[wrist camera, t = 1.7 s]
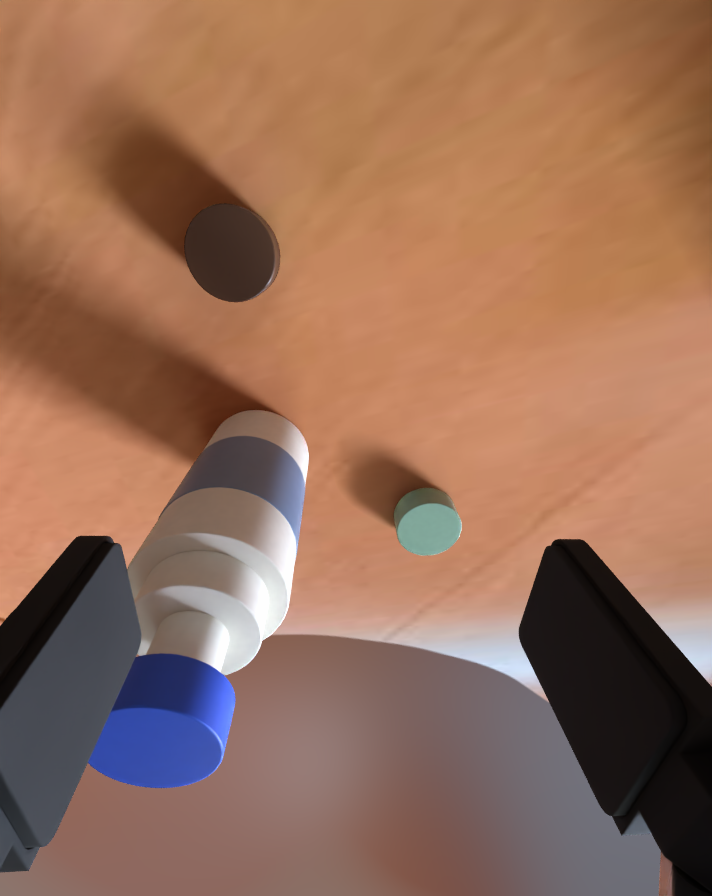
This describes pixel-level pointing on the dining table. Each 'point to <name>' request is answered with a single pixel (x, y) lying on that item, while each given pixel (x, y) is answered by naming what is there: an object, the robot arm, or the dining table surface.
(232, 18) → the dining table surface
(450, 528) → the sage cylinder
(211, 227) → the brown disc
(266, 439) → the cream bottle
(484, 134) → the dining table surface
